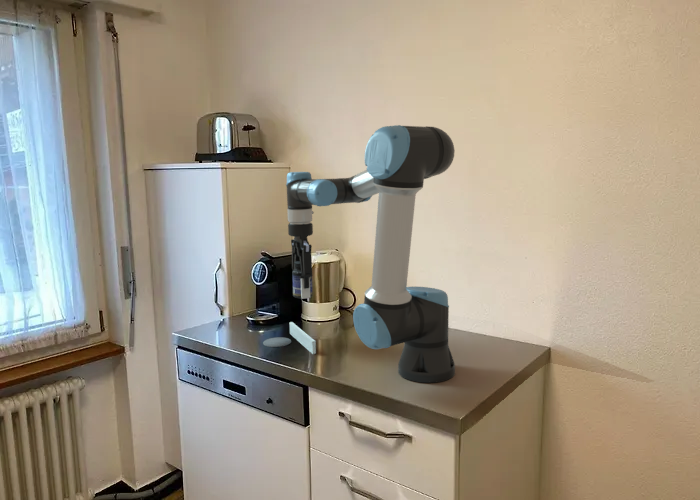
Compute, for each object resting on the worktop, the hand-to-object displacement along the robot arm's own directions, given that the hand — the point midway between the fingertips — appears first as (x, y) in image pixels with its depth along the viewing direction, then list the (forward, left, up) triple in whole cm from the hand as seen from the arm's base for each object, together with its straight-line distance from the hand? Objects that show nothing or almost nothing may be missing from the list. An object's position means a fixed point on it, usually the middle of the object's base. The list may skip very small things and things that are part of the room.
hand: (302, 295), depth 169 cm
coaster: (+6, +7, -16) cm, 18 cm away
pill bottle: (0, 0, -1) cm, 1 cm away
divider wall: (+1, 0, -16) cm, 16 cm away
